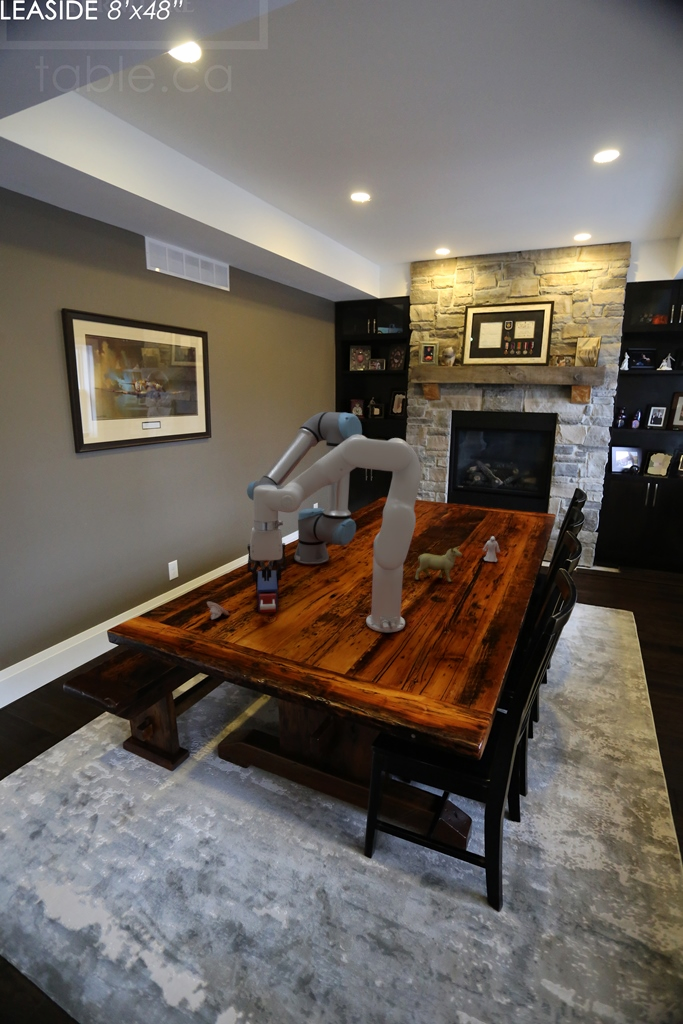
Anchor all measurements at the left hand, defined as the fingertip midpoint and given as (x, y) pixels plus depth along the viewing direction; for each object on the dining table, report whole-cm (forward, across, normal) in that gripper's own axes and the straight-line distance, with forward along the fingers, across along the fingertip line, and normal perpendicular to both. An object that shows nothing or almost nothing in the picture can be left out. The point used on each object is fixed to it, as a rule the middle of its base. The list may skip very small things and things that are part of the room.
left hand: (267, 588), depth 183 cm
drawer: (+1, 0, +12) cm, 12 cm away
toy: (+2, -68, -7) cm, 68 cm away
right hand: (-12, 0, +20) cm, 23 cm away
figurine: (+2, -100, -27) cm, 103 cm away
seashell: (+2, +16, +17) cm, 24 cm away
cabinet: (+2, 0, +6) cm, 6 cm away
